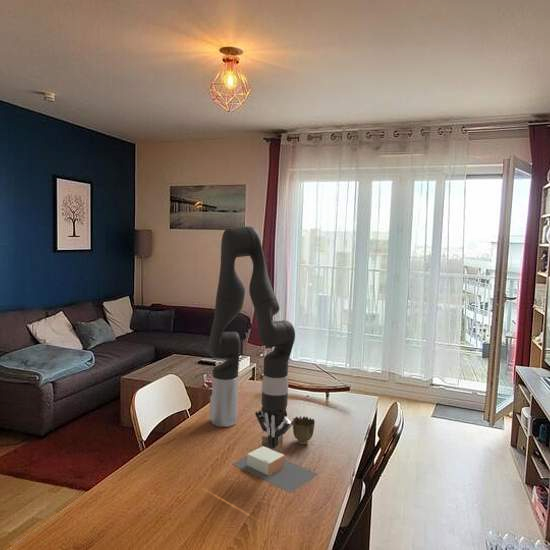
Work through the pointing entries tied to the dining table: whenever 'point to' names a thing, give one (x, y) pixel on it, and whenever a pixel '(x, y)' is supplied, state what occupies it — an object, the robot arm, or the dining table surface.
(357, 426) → the dining table surface
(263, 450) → the cream block
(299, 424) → the filigree lamp shade
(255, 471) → the mat
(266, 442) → the walnut cube
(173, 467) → the dining table surface
